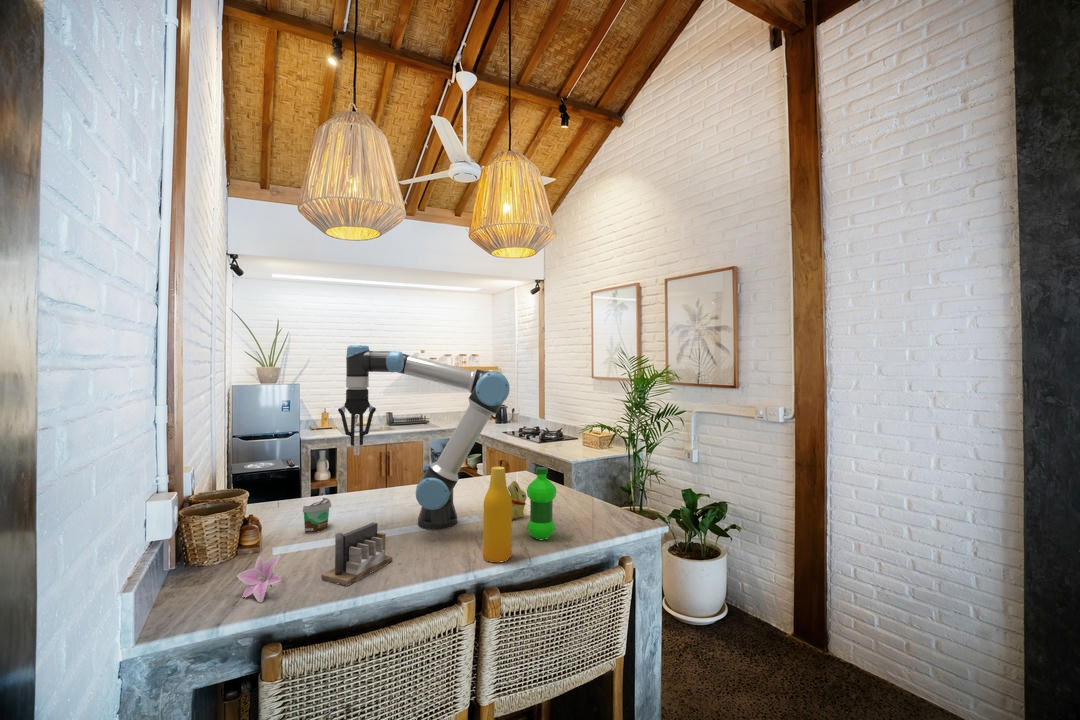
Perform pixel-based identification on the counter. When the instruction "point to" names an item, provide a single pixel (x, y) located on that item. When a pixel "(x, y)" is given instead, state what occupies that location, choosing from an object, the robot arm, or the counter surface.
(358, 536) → the grey stone panel
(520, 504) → the chocolate bunny
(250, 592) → the lily
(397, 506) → the counter surface
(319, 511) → the food container
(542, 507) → the plastic bottle
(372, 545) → the grey model on base
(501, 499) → the beer bottle
